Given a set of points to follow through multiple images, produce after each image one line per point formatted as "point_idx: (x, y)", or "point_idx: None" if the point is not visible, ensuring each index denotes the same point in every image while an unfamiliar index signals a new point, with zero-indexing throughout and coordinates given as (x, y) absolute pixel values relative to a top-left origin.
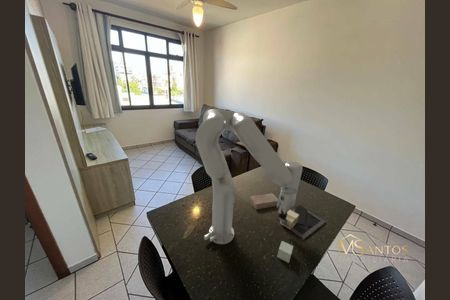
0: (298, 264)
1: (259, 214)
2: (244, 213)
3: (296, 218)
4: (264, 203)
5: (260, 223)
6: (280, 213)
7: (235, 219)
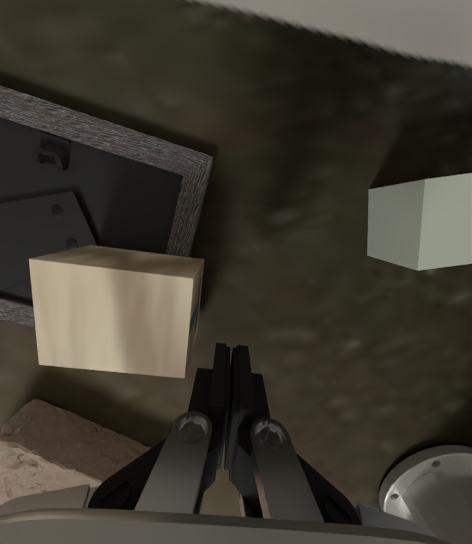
0: (417, 128)
1: None
2: None
3: (97, 262)
4: None
5: None
6: (421, 531)
7: None
